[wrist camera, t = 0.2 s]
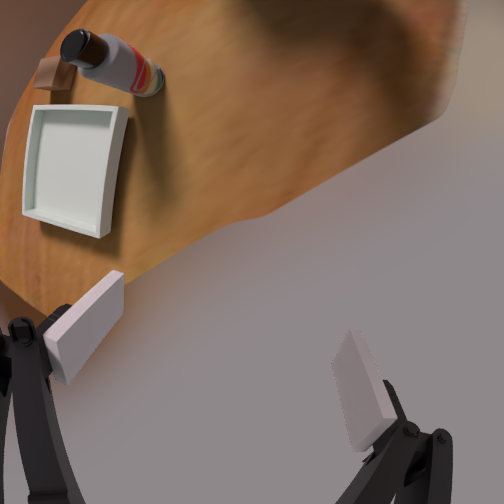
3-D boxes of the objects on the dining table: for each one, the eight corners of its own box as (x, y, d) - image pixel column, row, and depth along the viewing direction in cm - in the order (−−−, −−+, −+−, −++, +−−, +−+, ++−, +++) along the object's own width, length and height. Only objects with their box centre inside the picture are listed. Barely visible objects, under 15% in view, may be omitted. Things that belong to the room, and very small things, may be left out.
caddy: (50, 106, 35) (33, 105, 31) (133, 110, 36) (118, 106, 32) (38, 208, 42) (22, 214, 38) (113, 230, 43) (99, 238, 38)
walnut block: (58, 64, 33) (40, 59, 27) (78, 61, 33) (60, 55, 28) (51, 90, 34) (32, 87, 29) (70, 89, 35) (51, 85, 29)
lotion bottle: (172, 79, 34) (104, 34, 16) (145, 105, 36) (62, 81, 17) (152, 58, 33) (81, 10, 14) (126, 83, 35) (43, 53, 16)
